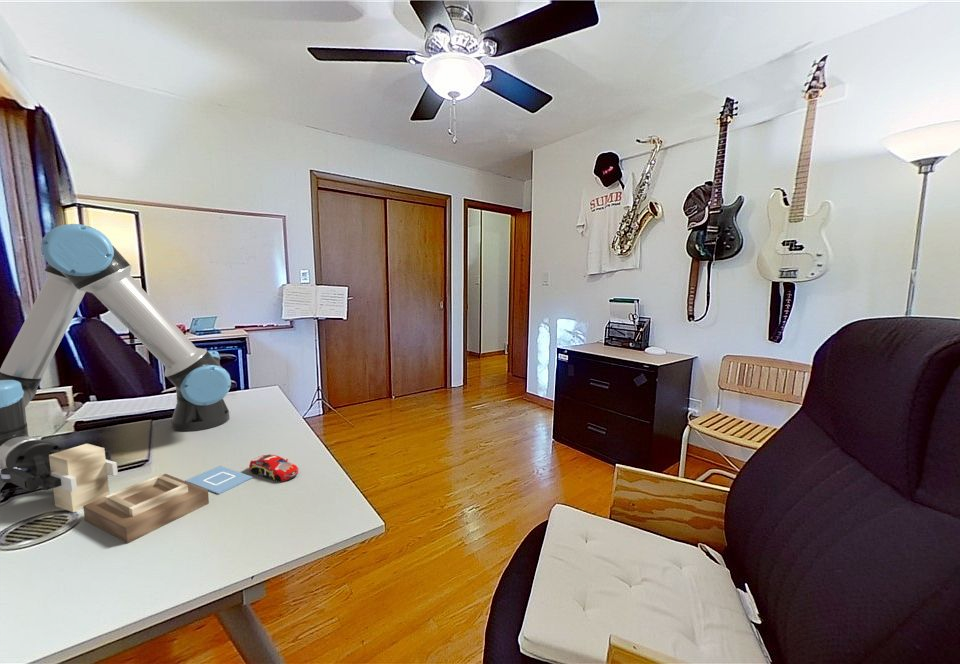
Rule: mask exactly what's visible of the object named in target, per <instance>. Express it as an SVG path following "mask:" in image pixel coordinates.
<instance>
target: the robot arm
mask: <svg viewBox="0 0 960 664" xmlns="http://www.w3.org/2000/svg"><path fill="white" fill-rule="evenodd" d="M40 249H41V254H42V255H43V258H44V260H45V262H47V265H46V267H45V269H44V271H43V273H44V274H45V276H46V279H45V281H44V283H43V285H42V287H41V289H40V292H39V293H38V295H37V296H36V299H35V300H34V303H33V304H32V306H31V308H30V310H29V312H28V314H27V317H26V318H25V320H24V322H23V324H22V326H21V328H20V330H19V331H18V333H17V336H16V337H15V339H14V341H13V343H12V345H11V347H10V348H9V351H8V353H7V355H6V356H5V359H4V360H3V362H2V364H1V367H0V476H1V482H2V483H8V484H9V483H11V484H12V485H15V486H17V487H20V488H22V489H23V490H25V491H28V492H32V491H34V490H37V487H41V489H42V491H49V490H51V489H53V488H56V487H59V488H62V489H65V490H68V491H71V492H74V491H76V490H77V484H76V477H73V476H70V475H66V474H63V473H60V472H57V471H54V472H52V473H51V469H50V461H49V455H51V454H54V453H57V452H60V451H64V450H65V449H62V448H61V447H59V446H58V445H57V444H56V443H54V442H50V441H47V440H43V439H40V438H36V437H32V436H29V429H28V422H27V414H26V407H27V406H28V404H29V403H30V402H31V401H32V400H33V399H34V397H35V396H36V394H37V391H38V387H39V386H40V383H41V382H42V379H43V377H44V375H45V373H46V371H47V370H48V367H49V365H50V363H51V362H52V359H53V357H54V355H55V353H56V351H57V349H58V347H59V345H60V343H61V342H62V339H63V338H64V336H65V334H66V332H67V330H68V328H69V326H70V323H71V322H72V320H73V318H74V316H75V314H76V312H77V310H78V308H79V306H80V304H81V302H82V300H83V298H84V296H85V294H86V293H90V294H92V295H93V296H94V297H96V298H97V299H98V300H99V301H100V302H101V304H102V305H104V307H106V309H107V310H108V311H109V312H110V313H112V315H113V316H114V317H115V318H116V319H118V321H120V323H121V324H122V325H123V326H124V327H125V328H126V329H128V331H130V333H131V334H132V335H133V336H134V337H136V339H137V340H138V341H139V342H140V343H141V344H142V345H143V346H144V347H145V348H146V349H147V350H148V352H150V353H151V354H152V355H153V356H154V357H155V358H156V359H157V360H158V361H159V362H160V363H161V364H162V365H163V366H164V376H165V377H166V379H168V381H169V382H171V384H172V385H173V386H174V387H175V393H176V405H175V408H174V411H173V414H172V418H171V428H172V429H173V430H175V431H179V432H180V431H181V432H191V431H192V432H193V431H201V430H206V429H211V428H215V427H219V426H220V425H223V424H225V423H228V421H230V411H229V408H228V406H227V405H226V402H225V400H224V398H225V397H226V396H227V395H228V393H229V391H230V389H231V386H232V379H231V375H230V373H229V372H228V371H227V370H226V369H225V368H223V366H221V364H220V363H221V361H220V360H221V357H220V353H219V352H218V351H217V350H208V349H206V348H201V347H196V345H195V344H194V343H193V342H192V341H191V340H190V339H189V338H188V337H187V336H186V335H185V333H184V332H183V331H182V330H181V329H180V328H179V327H178V326H177V325H176V324H175V323H174V322H173V320H172V319H171V317H169V315H168V314H167V313H165V311H163V309H162V308H161V307H160V306H159V305H158V303H156V301H154V300H153V299H152V297H151V296H150V295H149V294H148V293H147V292H146V291H145V290H144V288H142V286H141V285H140V284H139V283H138V282H137V281H136V279H135V278H134V277H132V275H131V269H132V266H131V264H130V263H129V262H128V260H126V259H125V257H124V256H123V254H121V253H120V252H119V251H118V250H117V248H116V247H115V246H114V245H113V243H112V242H111V240H110V239H109V238H108V237H107V236H106V235H105V234H104V233H103V232H102V231H100V230H99V229H97V228H94V227H92V226H88V225H86V224H80V223H69V224H67V223H66V224H62V225H59V226H56V227H54V228H52V229H50V230H49V231H47V232H46V234H45V235H44V236H43V238H42V239H41V243H40ZM111 456H112V455H111V451H110V450H105V458H106V469H107V476H108V475H109V476H111V477H115V476H117V475H119V473H118V472H119V470H118V463H117V462H116V461H113V460H112V457H111Z"/></svg>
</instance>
